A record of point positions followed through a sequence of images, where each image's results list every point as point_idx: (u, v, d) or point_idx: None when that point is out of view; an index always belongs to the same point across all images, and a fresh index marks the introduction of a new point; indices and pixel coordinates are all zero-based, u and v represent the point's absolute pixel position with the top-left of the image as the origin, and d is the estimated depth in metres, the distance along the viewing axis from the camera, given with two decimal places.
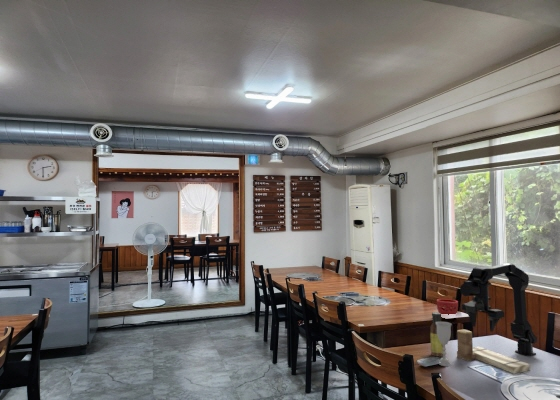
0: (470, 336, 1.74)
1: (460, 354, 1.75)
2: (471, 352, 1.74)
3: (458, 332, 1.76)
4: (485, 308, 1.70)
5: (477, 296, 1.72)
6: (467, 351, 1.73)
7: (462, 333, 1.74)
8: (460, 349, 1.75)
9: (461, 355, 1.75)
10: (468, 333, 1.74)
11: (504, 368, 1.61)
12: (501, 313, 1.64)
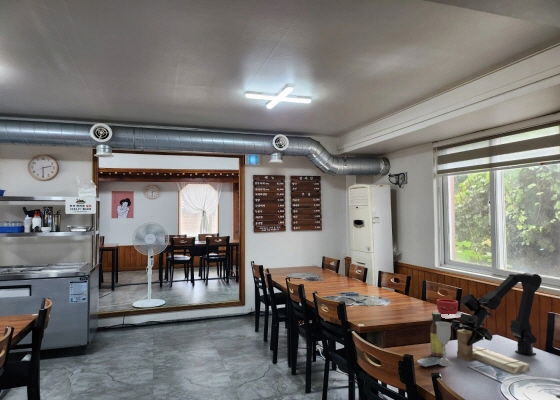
0: (470, 336, 1.74)
1: (460, 354, 1.75)
2: (471, 352, 1.73)
3: (458, 332, 1.76)
4: (476, 327, 1.76)
5: (474, 315, 1.79)
6: (467, 351, 1.73)
7: (462, 333, 1.74)
8: (460, 349, 1.75)
9: (461, 355, 1.75)
10: (468, 333, 1.73)
11: (504, 368, 1.61)
12: (490, 335, 1.70)
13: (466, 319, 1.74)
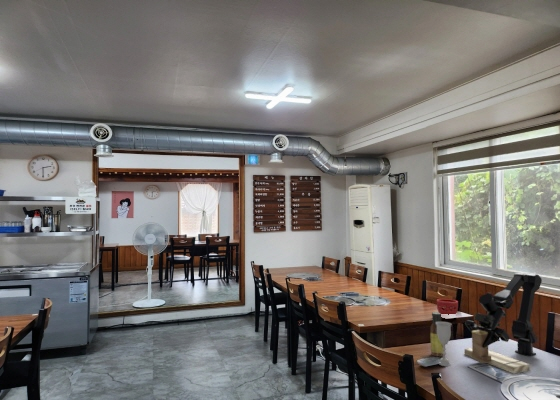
0: None
1: (475, 356, 1.68)
2: (487, 354, 1.66)
3: (473, 333, 1.69)
4: (492, 327, 1.68)
5: (489, 315, 1.72)
6: (483, 352, 1.65)
7: (477, 334, 1.67)
8: (475, 350, 1.67)
9: (476, 356, 1.67)
10: (483, 334, 1.66)
11: (504, 368, 1.61)
12: (507, 335, 1.62)
13: (481, 319, 1.67)
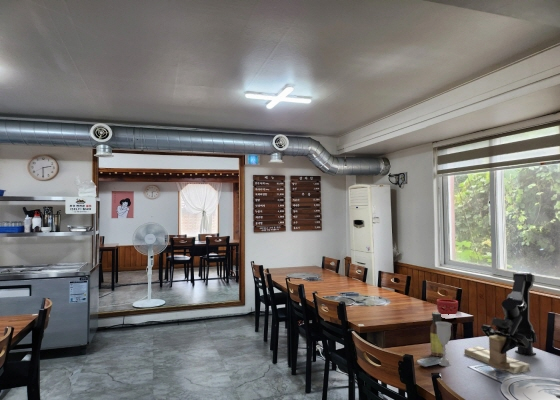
0: (504, 343, 1.58)
1: (492, 362, 1.59)
2: (505, 360, 1.58)
3: (490, 338, 1.60)
4: (510, 333, 1.60)
5: None
6: (501, 359, 1.57)
7: (495, 339, 1.58)
8: (493, 357, 1.59)
9: (493, 363, 1.59)
10: (502, 339, 1.58)
11: None
12: (527, 341, 1.54)
13: (499, 324, 1.59)
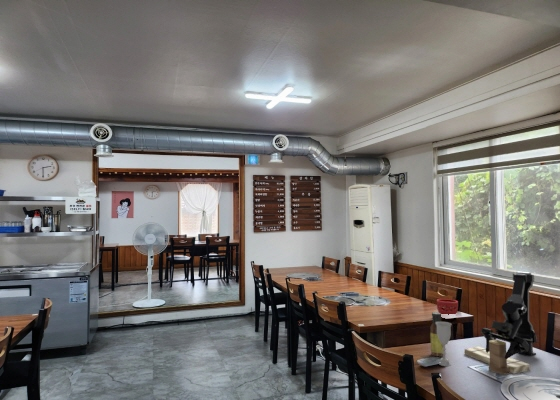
0: (504, 347, 1.58)
1: (493, 367, 1.59)
2: (505, 365, 1.58)
3: (490, 343, 1.60)
4: (510, 336, 1.60)
5: (507, 322, 1.63)
6: (501, 363, 1.57)
7: (495, 344, 1.58)
8: (493, 361, 1.59)
9: (493, 368, 1.59)
10: (502, 344, 1.58)
11: None
12: (527, 345, 1.54)
13: (499, 327, 1.59)
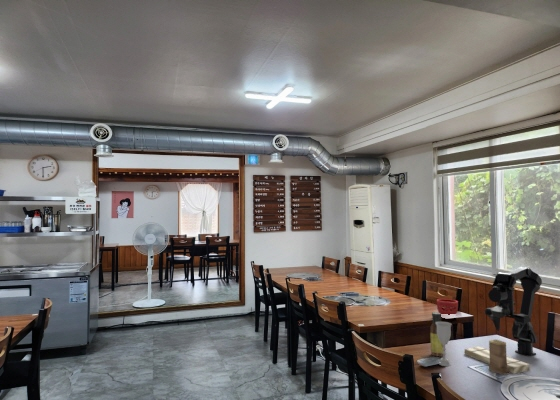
0: (504, 347, 1.58)
1: (493, 367, 1.59)
2: (505, 365, 1.58)
3: (490, 343, 1.60)
4: (511, 313, 1.71)
5: (502, 301, 1.73)
6: (501, 363, 1.57)
7: (495, 344, 1.58)
8: (493, 361, 1.59)
9: (493, 368, 1.59)
10: (502, 344, 1.58)
11: None
12: (528, 318, 1.66)
13: (499, 316, 1.69)
